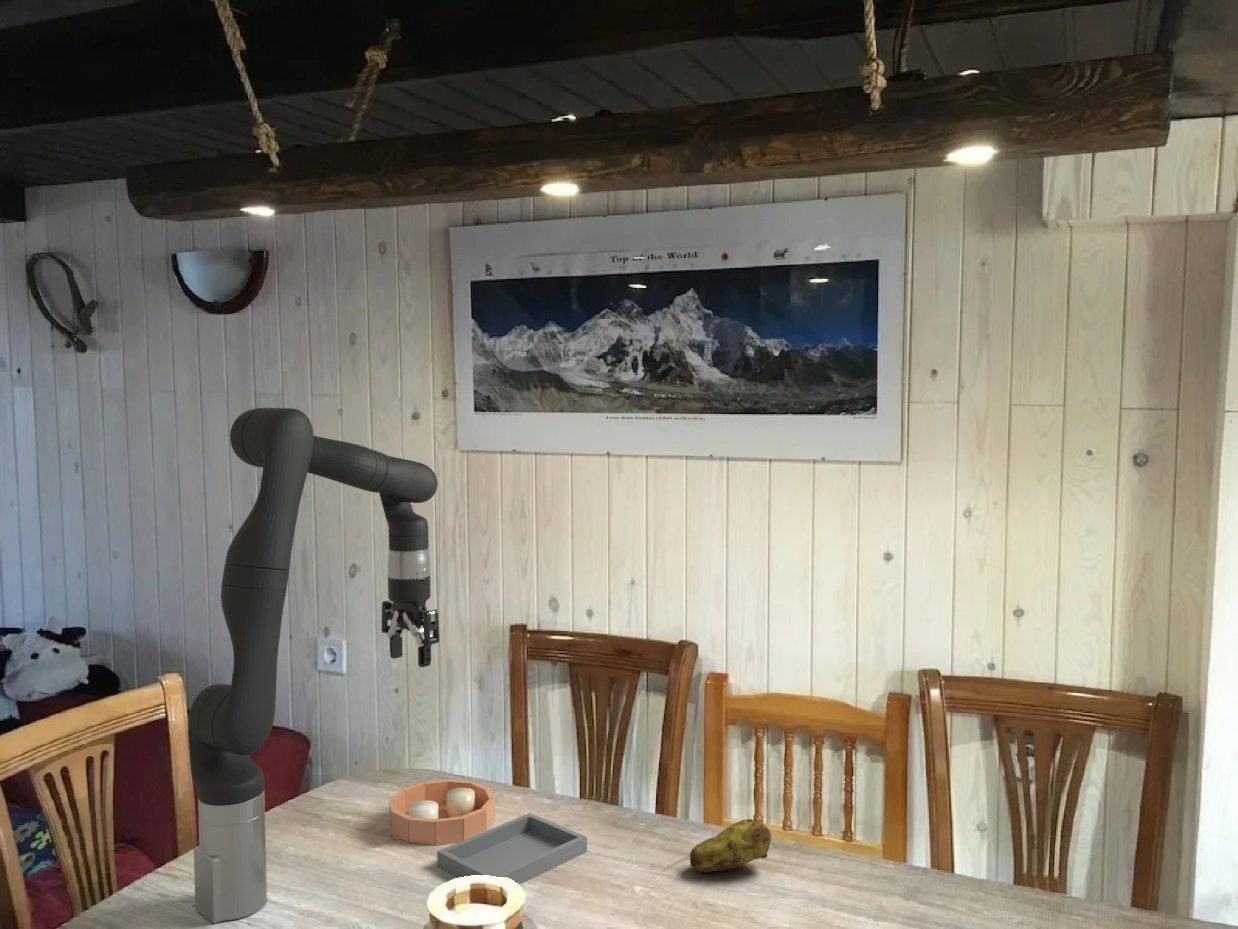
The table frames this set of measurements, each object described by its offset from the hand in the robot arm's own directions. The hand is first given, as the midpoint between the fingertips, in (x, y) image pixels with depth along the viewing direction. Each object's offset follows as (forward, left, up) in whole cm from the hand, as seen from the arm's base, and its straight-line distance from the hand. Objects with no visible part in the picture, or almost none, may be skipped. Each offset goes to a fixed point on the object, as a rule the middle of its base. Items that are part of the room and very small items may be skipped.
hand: (410, 662), depth 181 cm
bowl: (0, -9, -28) cm, 30 cm away
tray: (-1, -29, -28) cm, 40 cm away
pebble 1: (-4, -9, -27) cm, 29 cm away
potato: (+22, -56, -28) cm, 66 cm away
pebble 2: (+4, -9, -27) cm, 29 cm away
